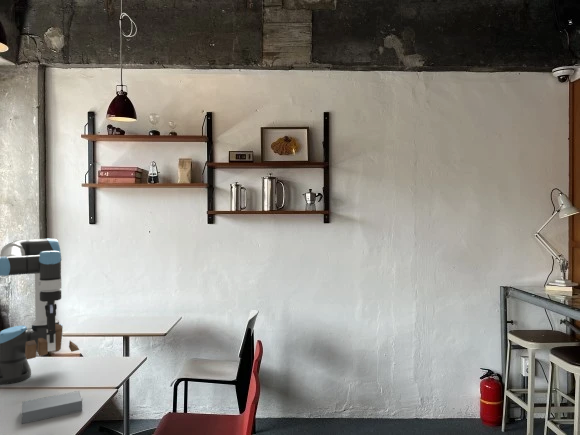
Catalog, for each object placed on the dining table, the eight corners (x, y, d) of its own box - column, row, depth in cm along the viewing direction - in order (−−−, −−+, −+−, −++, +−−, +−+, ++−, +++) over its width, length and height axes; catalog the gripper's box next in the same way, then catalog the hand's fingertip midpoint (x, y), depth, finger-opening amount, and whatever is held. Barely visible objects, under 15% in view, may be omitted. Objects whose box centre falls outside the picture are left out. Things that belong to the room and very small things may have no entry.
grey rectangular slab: (22, 412, 169) (22, 401, 169) (79, 400, 179) (79, 390, 179) (21, 423, 159) (21, 412, 159) (82, 410, 170) (82, 400, 170)
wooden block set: (27, 366, 162) (29, 343, 159) (22, 352, 168) (23, 330, 165) (79, 353, 174) (81, 332, 171) (72, 341, 180) (73, 320, 177)
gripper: (39, 287, 178) (39, 343, 178) (40, 294, 161) (40, 356, 161) (59, 286, 182) (60, 340, 182) (62, 292, 165) (63, 353, 165)
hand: (51, 348), depth 171 cm, fingers closed on wooden block set, 8 cm apart
